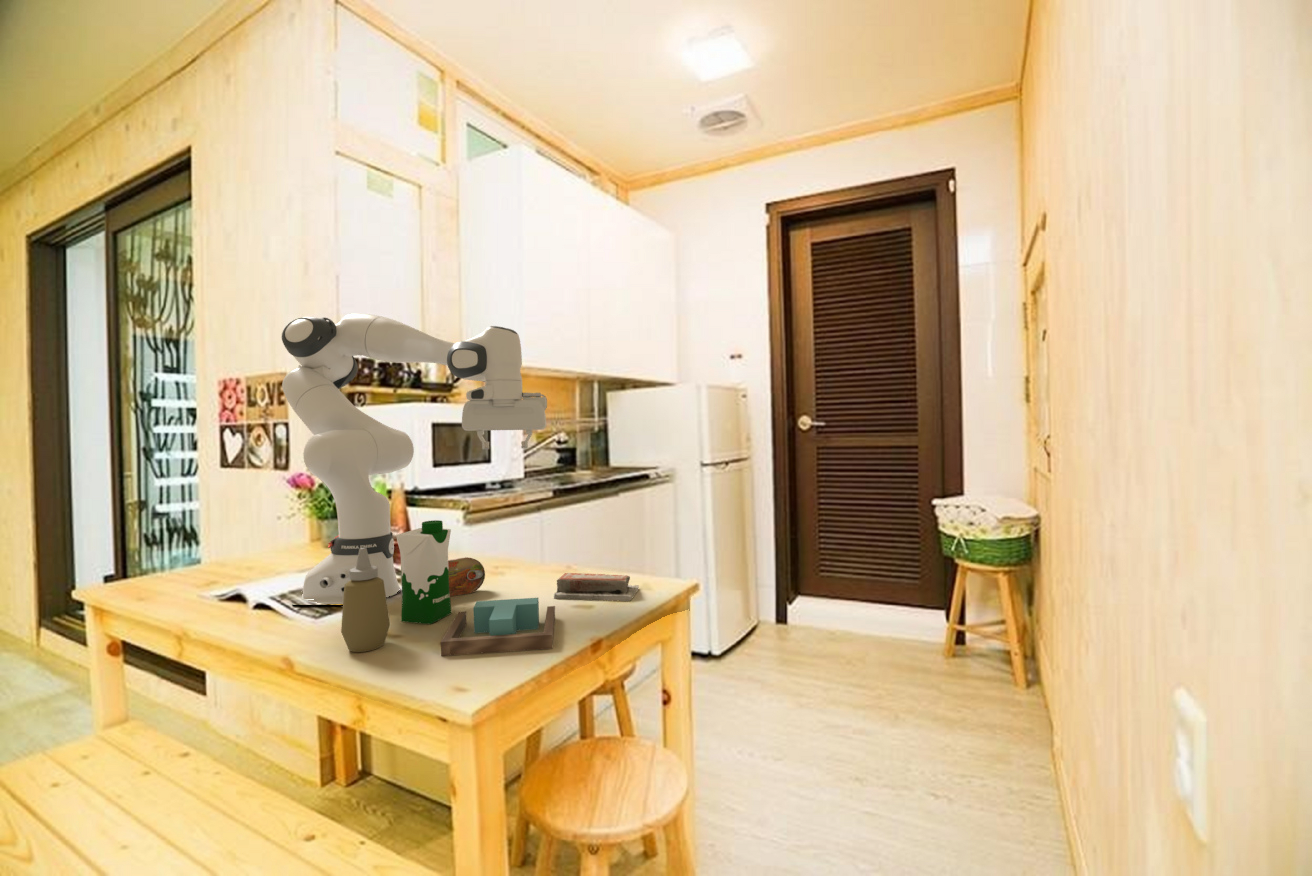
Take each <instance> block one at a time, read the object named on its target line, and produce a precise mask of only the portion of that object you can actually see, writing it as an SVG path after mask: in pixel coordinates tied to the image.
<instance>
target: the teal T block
mask: <svg viewBox="0 0 1312 876" xmlns="http://www.w3.org/2000/svg"><path fill="white" fill-rule="evenodd" d="M539 625H540V609H539V597H528V598H525V597H524V598H511V599H509V598H508V599H494V600H493V599H492V600H477V601H476V602H475V604H474V605H473V634H482V633H483V634H485V633H489V636H494V635H510V634H517V631H531V630H539V627H540V626H539Z"/></svg>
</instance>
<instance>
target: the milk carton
mask: <svg viewBox="0 0 1312 876" xmlns="http://www.w3.org/2000/svg"><path fill="white" fill-rule="evenodd" d="M443 527H444V526H443V521H442V520H436V519H435V520H425V521H423V522H421V527H418V528H415V529H412V530H409V531H404V532H401V533H397V534H396V535H395V538H396V542H397V544H398V545H397V546H398V548H399V549H398V550H399V553H400V554H399V555H400V574H401V577H400V578H401V611H400V612H401V614H400V616H401V618H400V622H403V623H414V624H422V625H431V624H434V623H436V622H438V621H440V620H441V619H443V618H445V617H447V616H449V615H451V614H452V605H451V597H450V593H449V568H448V560H449V545H450V539H451V532H452V529H451V528H443Z"/></svg>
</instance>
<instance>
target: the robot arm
mask: <svg viewBox="0 0 1312 876" xmlns="http://www.w3.org/2000/svg"><path fill="white" fill-rule="evenodd" d="M281 341H282V344H283V346H284V348H285V349H286V351H287V352H288V353H289V354H290V355H292V356H293V358H294V359H295V360H296V361H297V362H298V363H299V365H298V367H297V368H294V369H292V370H291V371H289V372H288V373H287V374H286V375H285V376H284V378H283V380H282V382H281V383H282V384H281V388H282V391H283V393H284V396H285V398H286V400H287V402H288V404H289V405H290V407H291V408H292V410H293V411H294V413H295V414H296V415H297V417H299V419H300V420H301V422H302V423H303V424H304V425H305V427H307V429H308V430H309V431H310V432H311V433H312V434H313V435H312V436H311V437H310V438H308V440H307V441H306V444H305V446H304V447H303V453H302V456H303V462H304V465H305V467H306V468H307V470H308V471H309V472H310V473H311V474H312V475H313V476H314V477H316V478H318V479H319V480H320V481H322V483H323V484H325V485H326V487H327V488H328V490H329V491H330V493H331V495H332V497H333V500H334V503H335V507H336V513H337V514H336V515H337V527H338V535H337V536H335V537H333V539H332V540H330V542H328V543H327V545H328V546H327V548H328V549H330V554H328V555H327V556H326V557H325V558H323V559H322V560H320V562H319V563H317V564H316V565H315V566H314V567H312V568H311V569H310V570H309V571H308V572H307V573H306V575H305V577H304V582H303V585H302V591H303V594H302V599H314V600H308V601H310V602H317V603H324V604H343V598H344V586H345V584H346V583H347V582H348V581H350V573H349V571H350V569H352V568H356V564H357V559H358V553H359V549H360V548H366V549H367V552H368V556H369V559H370V563H371V566H376V567H378V576H377V577H379V578H381V579H383V580H384V587H385V594H386V597H387V598H389V596H390V597H393V596H394V595H396V594H398V593H399V592H400V591H399V589H400V590H401V587H400V585H399V582H398V578H397V574H396V571H395V564H394V557H393V556H394V554H395V553H394V551H395V546H394V545H395V542H394V540H395V539H394V535H393V531H392V529H391V510H390V509H391V505H390V501H389V500H388V498H387V497H386V496H385V495H384V494H382V493H380V492H377V491H375V490H374V488H373V487H372V485H371V482H370V477H369V476H374V475H384V474H386V475H387V474H390V473H393V472H396V471H399V470H402V469H405V468H407V467H408V466H409V465H410V463H412V460H413V457H414V452H415V451H414V450H415V449H414V448H415V447H414V443H413V440H412V439H411V437H410V436H409V435H408V434H407V433H406V432H405V431H401V430H399V429H395V428H393V427H390V426H388V425H386V424H384V423H382V422H380V421H378V420H377V419H375V418H373V417H371V416H369V414H367V413H365V412H363V411H362V410H360V409H359V408H358V407H356V406H355V405H354V404H353V403H352V402H351V401H350V400H349V399H348V398H347V397H346V396H345V395H344V393H342V391H341V390H340V389H341V388H343V387H346V386H347V385H348V384H349V383H351V382H352V381H353V380H354V379H355V377H356V376H357V374H358V372H359V367H358V366H359V365H358V363H357V361H356V359H355V357H354V356H364V357H367V358H370V359H373V360H377V361H381V362H390V363H431V364H432V363H433V364H439V365H444V366H447V368H448V370H449V372H450V373H451V374H452V375H453V376H454V377H457V378H458V379H461V380H467V381H473V382H474V381H475V382H477V381H478V382H483V383H485V385H484V386H480V387H477V388H475V389H471V390H467V391H466V393H465V395H466V396H465V397H466V399H467V401H466V402H465V403H464V405H463V407H462V414H461V415H462V416H461V428H462V429H463V430H464V431H470V432H471V431H472V432H473V431H476V433H477V434H476V436H477V437H478V438H479V439H478V440H479V441H480V442H481V449H482V450H490V441H487V440H486V439H485V438H484V435H485V431H525V435H527V436H526V438H525V440H524V441H523V440H522V441H521V442H520V443H521V449H523V450H525V449H529V440H530V439H531V437H532V435H533V430H535V431H538V430H541V431H542V430H544V429H546V427H547V415H546V410H547V407H548V399H547V397H546V395H544V394H542V393H541V392H523V377H522V373H521V368H522V363H523V361H522V360H523V357H522V354H523V353H522V345H521V339H520V335H519V334H518V332H517V331H515V330H514V329H511V328H507V327H505V326H504V327H503V326H497V325H491V326H488V327H486V328H485V329H484V330H483V331H482V332H480V333H479V334H477V335H475V336H473V337H471V338H468V339H464V340H463V341H462V340H461V341H457V342H451V341H447V340H443V339H439V338H437V337H435V336H433V335H430V334H428V333H425V332H423V331H420V330H418V329H416V328H414V327H412V326H410V325H408V324H405V323H403V322H400V321H397V320H395V319H393V318H390V317H385V316H380V315H375V314H367V313H350V314H345V316H343V317H342V318H341V319H340V320H339V322H337V323H335V322H334V321H333V320H332V319H330V318H328V317H321V318H319V317H315V316H303V317H298V318H295V319H293V320H292V321H290V322H289V323H288V324H287V325H285V327H284V329H283V330H282V332H281ZM398 591H399V592H398ZM397 592H398V593H397Z"/></svg>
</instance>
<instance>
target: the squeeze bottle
mask: <svg viewBox="0 0 1312 876" xmlns="http://www.w3.org/2000/svg"><path fill="white" fill-rule="evenodd" d="M349 573H350V581H348V582H347V583H346V584H345V586H344V598H343V606H342V613H341V614H342V617H341V629H340V632H341V636H342V638H343V639H344V642H345V645H346V646H347V649H348V651H351V652H355V653H363V652H370V651H374V650H377V649H379V648H381V647H383V646H384V645H385V642H386V639H387V636H388V632H389V628H390V625H391V624H390V623H391V622H390V616H389V608H388V602H387V601H388V600H387V598H386V594H385V587H384V580H383V579H381V578H379V577H377V576H378V567H376V566H371V563H370V559H369V556H368V552H367V549H366V548H360V549H359V553H358V559H357V564H356V568H352V569H350V571H349Z"/></svg>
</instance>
